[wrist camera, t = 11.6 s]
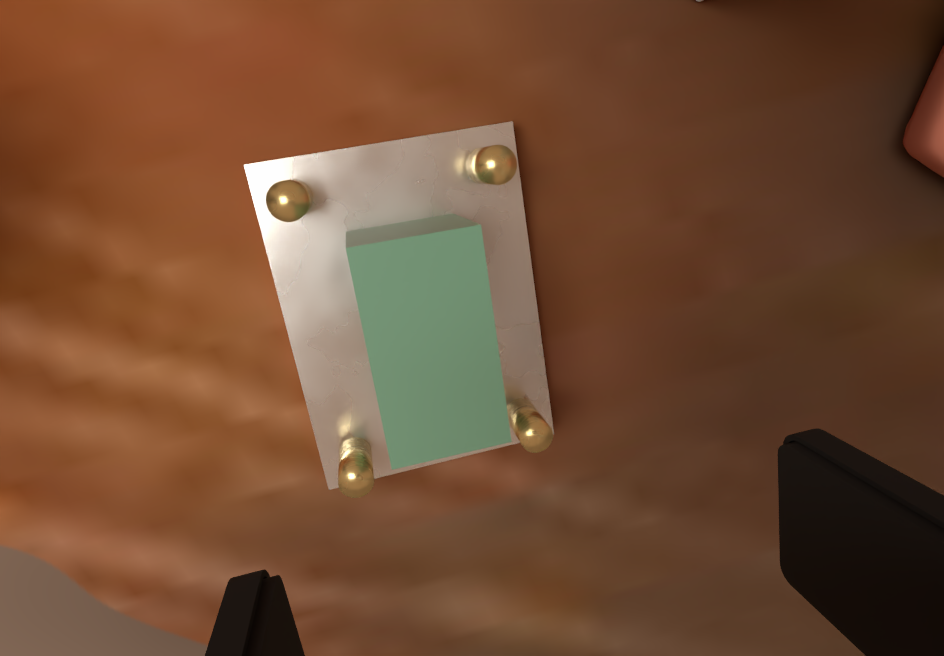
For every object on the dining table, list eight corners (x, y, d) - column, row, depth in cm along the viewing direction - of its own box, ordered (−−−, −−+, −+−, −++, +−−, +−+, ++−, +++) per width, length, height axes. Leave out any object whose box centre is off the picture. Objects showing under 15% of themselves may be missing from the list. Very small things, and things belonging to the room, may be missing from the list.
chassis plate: (546, 424, 33) (574, 460, 29) (329, 478, 31) (327, 523, 27) (505, 123, 28) (532, 115, 24) (248, 164, 26) (230, 164, 22)
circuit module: (480, 390, 30) (511, 442, 24) (383, 412, 29) (391, 469, 24) (453, 213, 28) (480, 224, 22) (345, 231, 27) (345, 248, 21)
